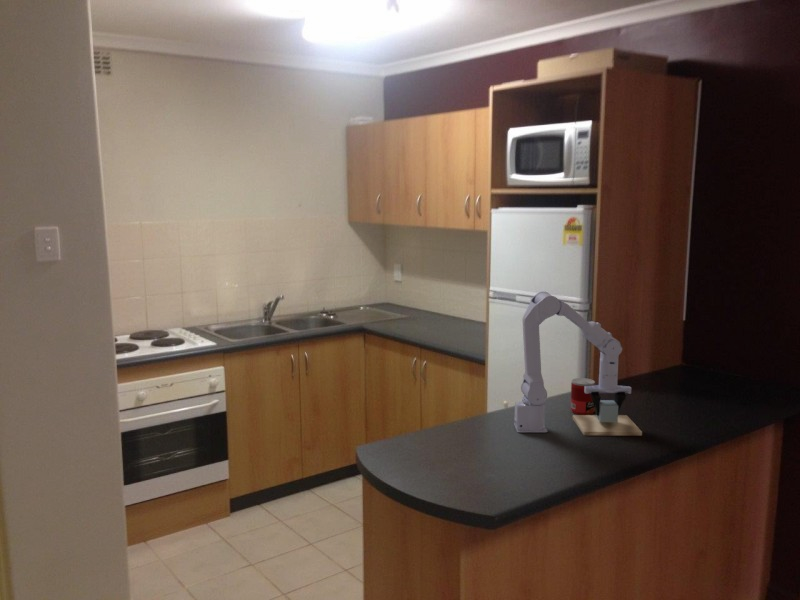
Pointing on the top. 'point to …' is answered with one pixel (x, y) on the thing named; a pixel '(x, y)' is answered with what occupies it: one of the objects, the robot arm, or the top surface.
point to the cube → (608, 411)
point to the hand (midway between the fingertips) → (606, 414)
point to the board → (606, 426)
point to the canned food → (581, 397)
